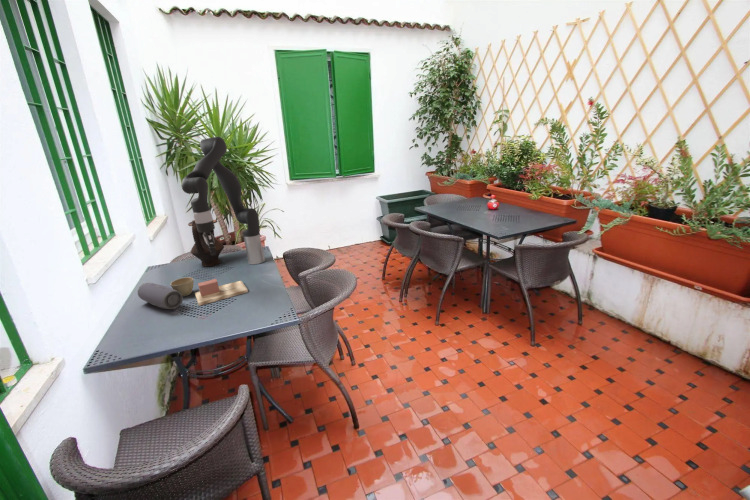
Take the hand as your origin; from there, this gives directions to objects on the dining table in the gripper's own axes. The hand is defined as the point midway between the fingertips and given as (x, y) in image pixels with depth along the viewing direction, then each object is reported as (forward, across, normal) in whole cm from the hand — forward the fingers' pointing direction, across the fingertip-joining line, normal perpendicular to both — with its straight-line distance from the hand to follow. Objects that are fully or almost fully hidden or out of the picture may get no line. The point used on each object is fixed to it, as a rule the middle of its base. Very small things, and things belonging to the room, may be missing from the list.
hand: (212, 252), depth 165 cm
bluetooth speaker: (+20, 0, +26) cm, 33 cm away
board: (+20, -5, +1) cm, 21 cm away
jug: (+21, +46, -1) cm, 50 cm away
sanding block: (+18, -5, +6) cm, 20 cm away
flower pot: (+20, +7, +16) cm, 26 cm away
